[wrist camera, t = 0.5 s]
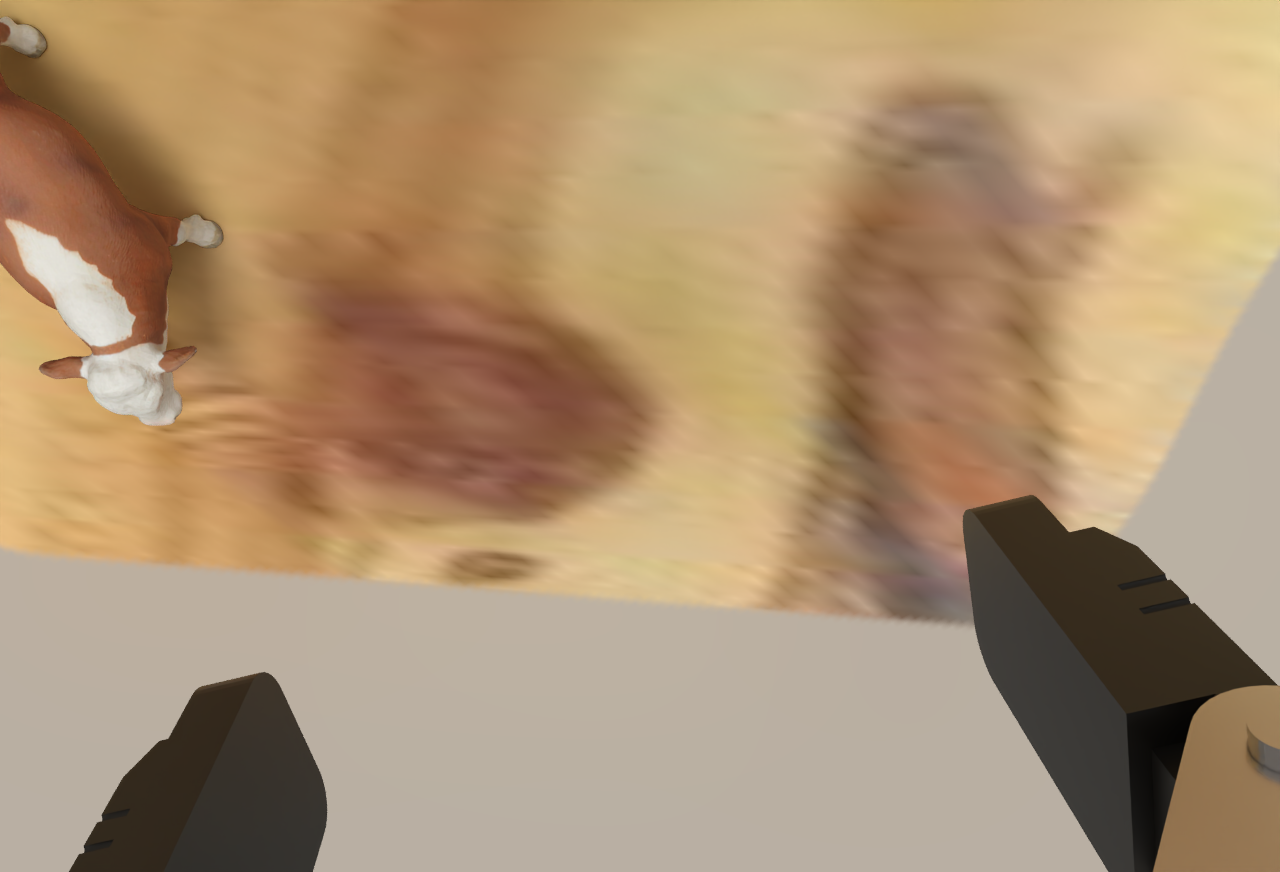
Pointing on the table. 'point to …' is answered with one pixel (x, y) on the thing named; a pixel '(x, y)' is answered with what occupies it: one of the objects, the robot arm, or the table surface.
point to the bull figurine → (90, 253)
